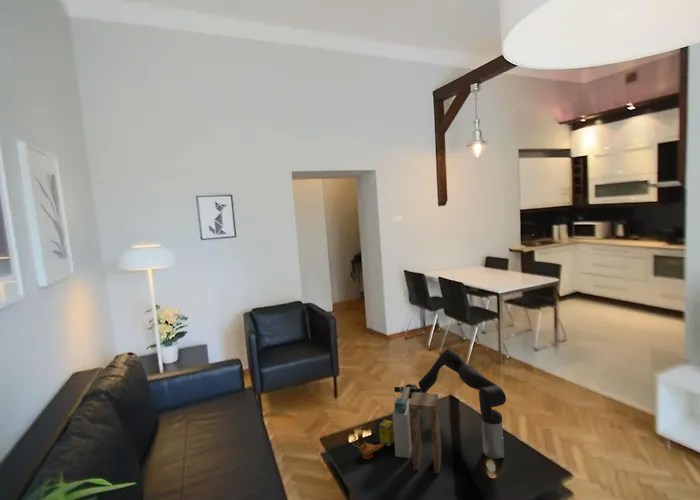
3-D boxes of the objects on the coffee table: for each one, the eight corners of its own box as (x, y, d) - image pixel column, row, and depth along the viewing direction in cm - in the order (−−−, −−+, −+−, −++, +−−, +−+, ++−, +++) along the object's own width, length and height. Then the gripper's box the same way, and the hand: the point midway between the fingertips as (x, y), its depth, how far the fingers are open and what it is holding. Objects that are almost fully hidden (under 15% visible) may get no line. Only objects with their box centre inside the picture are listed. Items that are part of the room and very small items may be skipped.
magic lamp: (388, 460, 182) (387, 438, 181) (352, 460, 185) (350, 438, 184) (389, 451, 189) (387, 430, 188) (353, 451, 191) (352, 430, 190)
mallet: (412, 392, 203) (411, 383, 203) (405, 413, 182) (404, 403, 182) (402, 391, 205) (402, 383, 204) (394, 412, 184) (394, 402, 184)
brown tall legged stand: (441, 457, 182) (437, 393, 179) (439, 473, 170) (435, 406, 168) (416, 453, 185) (412, 392, 183) (413, 469, 174) (408, 404, 171)
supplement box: (389, 447, 192) (388, 427, 191) (380, 444, 196) (378, 424, 195) (395, 441, 197) (394, 421, 196) (386, 438, 200) (384, 418, 199)
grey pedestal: (414, 440, 196) (411, 400, 194) (409, 458, 183) (406, 415, 181) (400, 439, 199) (398, 399, 197) (395, 456, 185) (392, 413, 183)
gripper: (398, 384, 217) (392, 381, 204) (423, 385, 213) (419, 383, 199) (398, 397, 215) (392, 396, 201) (423, 399, 210) (418, 398, 196)
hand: (405, 389), depth 200 cm, fingers open, 8 cm apart
